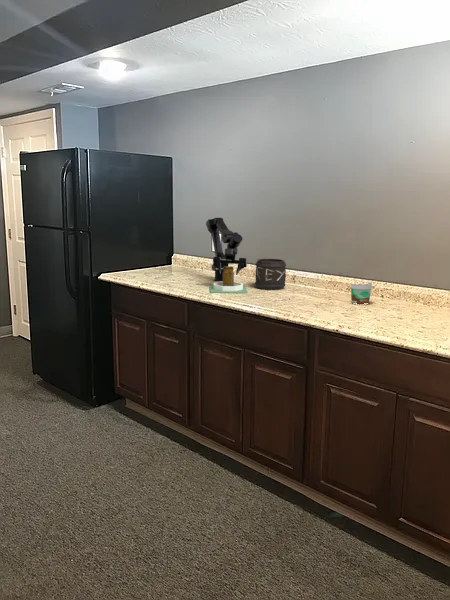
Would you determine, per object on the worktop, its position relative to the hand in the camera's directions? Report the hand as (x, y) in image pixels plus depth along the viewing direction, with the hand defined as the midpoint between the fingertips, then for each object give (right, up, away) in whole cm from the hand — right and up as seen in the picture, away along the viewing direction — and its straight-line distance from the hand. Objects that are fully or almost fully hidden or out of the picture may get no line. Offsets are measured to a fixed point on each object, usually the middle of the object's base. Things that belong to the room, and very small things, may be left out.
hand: (228, 274), depth 287 cm
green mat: (0, -8, +1) cm, 8 cm away
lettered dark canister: (+24, -8, +8) cm, 26 cm away
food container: (+66, -17, -32) cm, 75 cm away
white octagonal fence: (0, -8, +1) cm, 8 cm away
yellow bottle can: (0, -8, +1) cm, 8 cm away
